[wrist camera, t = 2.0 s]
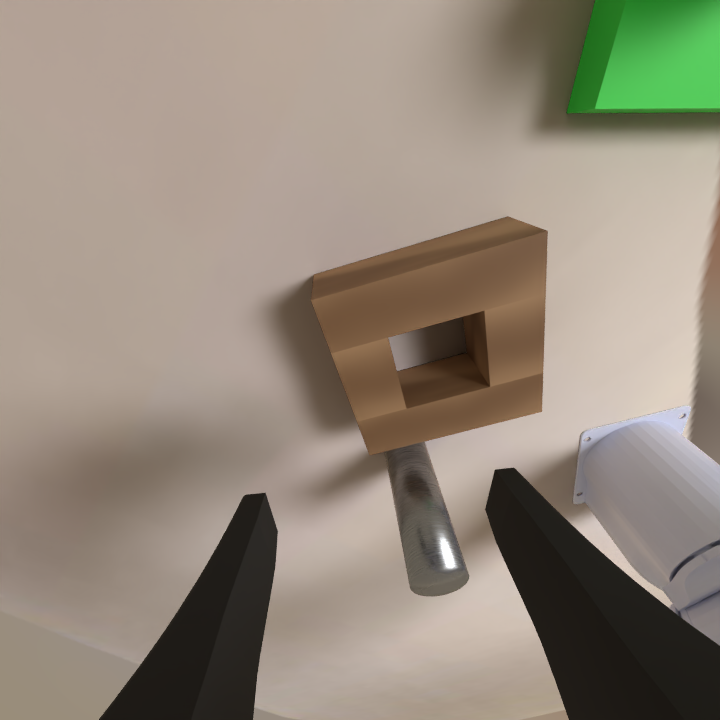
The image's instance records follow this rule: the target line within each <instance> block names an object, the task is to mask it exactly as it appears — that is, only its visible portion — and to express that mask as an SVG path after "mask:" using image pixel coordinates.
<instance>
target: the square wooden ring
mask: <svg viewBox="0 0 720 720" xmlns="http://www.w3.org/2000/svg"><path fill="white" fill-rule="evenodd" d="M547 234H548V231H546V230H544V229H541V228H538V227H535V226H533V225H530V224H527V223H524V222H522V221H519V220H516V219H513V218H511V217H505V218H501V219H498V220H495V221H491V222H488V223H485V224H481V225H478V226H475V227H471V228H468V229H465V230H461V231H458V232H455V233H451V234H448V235H445V236H441V237H438V238H435V239H431V240H428V241H425V242H421V243H418V244H415V245H411V246H408V247H405V248H401V249H398V250H395V251H391V252H388V253H385V254H381V255H378V256H375V257H371V258H368V259H365V260H361V261H358V262H355V263H351V264H348V265H345V266H341V267H338V268H335V269H331V270H328V271H325V272H321V273H318V274H315V275H314V278H313V287H312V295H311V302H312V305H313V307H314V310H315V313H316V315H317V318H318V321H319V323H320V326H321V328H322V331H323V334H324V336H325V339H326V342H327V344H328V347H329V350H330V352H331V355H332V357H333V360H334V363H335V365H336V368H337V371H338V373H339V376H340V379H341V381H342V384H343V386H344V389H345V392H346V394H347V397H348V400H349V402H350V405H351V407H352V410H353V413H354V415H355V418H356V421H357V423H358V426H359V429H360V431H361V434H362V436H363V439H364V442H365V444H366V447H367V450H368V452H369V455H373V454H377V453H381V452H385V451H389V450H393V449H397V448H401V447H405V446H408V445H412V444H416V443H420V442H424V441H428V440H432V439H436V438H440V437H444V436H448V435H452V434H456V433H460V432H464V431H468V430H471V429H475V428H479V427H483V426H487V425H491V424H495V423H499V422H503V421H507V420H511V419H515V418H519V417H523V416H527V415H531V414H535V413H538V412H542V392H543V361H544V329H545V297H546V265H547ZM460 317H463V324H464V332H465V341H466V350H467V353H464V354H460V355H456V356H453V357H449V358H445V359H442V360H438V361H434V362H431V363H427V364H423V365H420V366H416V367H412V368H409V369H405V370H401V371H398V372H397V370H396V366H395V363H394V359H393V355H392V351H391V347H390V343H389V340H388V337H392V336H395V335H399V334H402V333H406V332H410V331H413V330H417V329H420V328H424V327H427V326H431V325H435V324H438V323H442V322H445V321H449V320H452V319H456V318H460Z"/></svg>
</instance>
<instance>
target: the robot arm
mask: <svg viewBox="0 0 720 720" xmlns="http://www.w3.org/2000/svg"><path fill="white" fill-rule="evenodd" d="M690 411H691V407H690V406H688V405H686V406H681V407H677V408H673V409H669V410H665V411H661V412H657V413H653V414H649V415H645V416H641V417H637V418H633V419H629V420H625V421H621V422H616V423H612V424H608V425H604V426H600V427H596V428H592V429H588V430H585V431H584V432H583V433H582V434H581V436H580V444H579V453H578V461H577V469H576V477H575V485H574V494H573V503H574V504H581V503H586V504H587V506H588V507H589V508H590V510H591V511H592V513H593V514H594V515H595V517H596V518H597V519H598V521H599V522H600V524H601V525H602V526H603V528H604V529H605V530H606V532H607V533H608V535H609V536H610V537H611V539H612V540H613V541H614V543H615V544H616V545H617V547H618V548H619V550H620V551H621V552H622V554H623V555H624V556H625V558H626V559H627V561H628V562H629V563H630V565H631V566H632V567H633V568H634V569H635V570H636V571H637V572H638V573H639V574H640V575H641V576H642V577H643V578H644V579H645V580H647V581H648V582H650V583H651V584H653V585H654V586H656V587H657V588H659V589H661V590H663V591H664V593H665V594H666V595H667V597H668V598H669V599H670V601H671V602H672V603H673V604H672V605H670V607H669V608H668V607H667V606H666V605H664V604H663V603H662V602H660V601H659V600H658V599H657V598H655V597H654V596H653V595H652V594H650V593H649V592H648V591H647V590H645V589H644V588H643V587H642V586H640V585H639V584H638V583H637V582H635V581H634V580H633V579H632V578H631V577H629V576H628V575H627V574H626V573H625V572H624V571H622V570H621V569H620V568H619V567H618V566H617V565H615V564H614V563H613V562H612V561H611V560H610V559H609V558H607V557H606V556H605V555H604V554H603V553H602V552H601V551H599V550H598V549H597V548H596V547H595V546H594V545H593V544H592V543H591V542H589V541H588V540H587V539H586V538H585V537H584V536H583V535H582V534H581V533H580V532H579V531H578V530H577V529H576V528H575V527H573V526H572V525H571V524H570V523H569V522H568V521H567V520H566V519H565V518H564V517H563V516H562V515H561V514H560V513H559V512H558V511H557V510H556V509H555V508H554V507H553V506H552V505H551V504H550V503H549V502H548V501H547V500H546V499H545V498H544V497H543V496H542V495H541V494H540V493H539V492H538V491H537V490H536V489H535V488H534V487H533V486H532V485H531V484H530V483H529V482H528V481H527V480H526V479H525V478H524V477H523V476H522V475H521V474H520V473H519V472H518V471H517V470H516V469H515V468H506V469H496V470H495V472H494V476H493V480H492V484H491V488H490V492H489V496H488V500H487V505H486V509H485V510H486V513H487V516H488V519H489V522H490V525H491V528H492V531H493V534H494V537H495V540H496V543H497V545H498V547H499V549H500V552H501V554H502V556H503V558H504V561H505V563H506V565H507V567H508V569H509V572H510V574H511V576H512V578H513V580H514V582H515V585H516V587H517V589H518V591H519V593H520V595H521V598H522V600H523V602H524V604H525V606H526V609H527V611H528V613H529V615H530V617H531V619H532V622H533V624H534V626H535V629H536V631H537V633H538V636H539V638H540V640H541V643H542V646H543V648H544V651H545V654H546V657H547V659H548V662H549V665H550V667H551V670H552V673H553V676H554V678H555V681H556V684H557V687H558V690H559V692H560V695H561V698H562V701H563V704H564V707H565V710H566V712H567V715H568V718H569V720H720V465H719V464H717V463H716V462H715V461H714V460H713V459H711V458H710V457H709V456H708V455H706V454H705V453H704V452H703V451H701V450H700V449H699V448H698V447H696V446H695V445H694V444H693V443H691V442H690V441H689V440H688V439H686V438H685V437H684V436H683V435H682V433H683V430H684V428H685V425H686V422H687V419H688V416H689V413H690ZM682 414H685V415H684V416H683V417H682V418H679V417H680V415H682ZM588 437H590V439H589V440H588V441H584V440H585V439H586V438H588ZM578 493H582V494H581V495H577V494H578ZM277 534H278V531H277V528H276V524H275V521H274V518H273V515H272V512H271V509H270V506H269V502H268V499H267V496H266V493H259V494H250V495H245V496H244V497H243V498H242V500H241V502H240V504H239V506H238V508H237V510H236V512H235V514H234V516H233V518H232V520H231V522H230V524H229V526H228V528H227V529H226V531H225V533H224V535H223V537H222V539H221V540H220V542H219V544H218V546H217V548H216V549H215V551H214V553H213V555H212V556H211V558H210V560H209V561H208V563H207V565H206V567H205V568H204V570H203V572H202V573H201V575H200V577H199V578H198V580H197V582H196V583H195V585H194V586H193V588H192V590H191V591H190V593H189V594H188V596H187V597H186V599H185V601H184V602H183V604H182V605H181V607H180V609H179V610H178V612H177V613H176V615H175V616H174V618H173V619H172V621H171V622H170V624H169V625H168V627H167V628H166V630H165V631H164V633H163V634H162V635H161V637H160V638H159V640H158V641H157V643H156V644H155V645H154V647H153V648H152V650H151V651H150V652H149V654H148V655H147V657H146V658H145V659H144V661H143V662H142V664H141V665H140V666H139V668H138V669H137V670H136V672H135V673H134V674H133V676H132V677H131V678H130V680H129V681H128V682H127V684H126V685H125V686H124V688H123V689H122V690H121V692H120V693H119V694H118V696H117V697H116V698H115V700H114V701H113V702H112V703H111V705H110V706H109V707H108V709H107V710H106V711H105V712H104V714H103V715H102V716H101V717H100V719H99V720H253V713H254V703H255V693H256V682H257V673H258V666H259V659H260V653H261V647H262V641H263V635H264V630H265V624H266V618H267V612H268V606H269V601H270V595H271V589H272V583H273V577H274V571H275V562H276V549H277Z"/></svg>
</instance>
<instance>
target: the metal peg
mask: <svg viewBox="0 0 720 720" xmlns="http://www.w3.org/2000/svg"><path fill="white" fill-rule="evenodd" d="M385 457H386V462H387V467H388V473H389V478H390V483H391V489H392V494H393V499H394V505H395V510H396V515H397V521H398V526H399V531H400V537H401V542H402V547H403V552H404V558H405V563H406V568H407V574H408V579H409V584H410V589H411V590H412V591H413V592H414V593H416V594H418V595H422V596H440V595H445V594H449V593H452V592H454V591H456V590H458V589H460V588H461V587H463V586H464V585H465V584H466V583H467V581H468V579H469V574H468V571H467V568H466V565H465V562H464V559H463V556H462V553H461V550H460V547H459V544H458V541H457V538H456V535H455V532H454V529H453V526H452V523H451V520H450V517H449V514H448V511H447V508H446V505H445V502H444V499H443V496H442V493H441V490H440V487H439V484H438V481H437V478H436V475H435V472H434V469H433V466H432V463H431V460H430V457H429V454H428V451H427V448H426V445H425V442H420V443H416V444H412V445H408V446H405V447H401V448H397V449H393V450H389V451H385Z"/></svg>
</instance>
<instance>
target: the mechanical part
mask: <svg viewBox="0 0 720 720" xmlns="http://www.w3.org/2000/svg"><path fill="white" fill-rule="evenodd" d="M691 112H720V0H595V3H594V7H593V11H592V15H591V19H590V23H589V27H588V31H587V35H586V38H585V42H584V46H583V50H582V54H581V58H580V62H579V66H578V70H577V74H576V78H575V82H574V86H573V89H572V93H571V97H570V101H569V105H568V109H567V113H691Z"/></svg>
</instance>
